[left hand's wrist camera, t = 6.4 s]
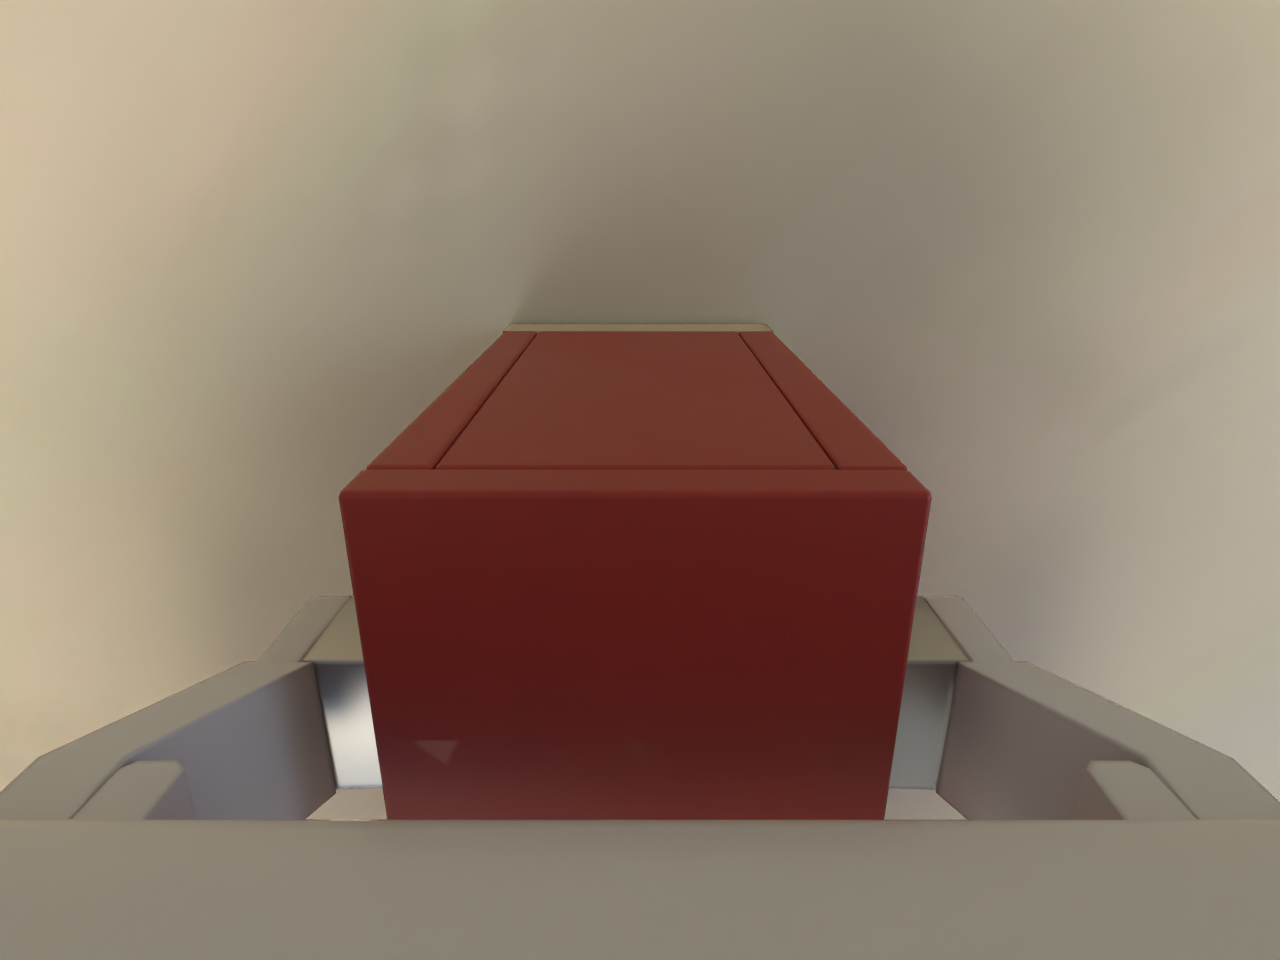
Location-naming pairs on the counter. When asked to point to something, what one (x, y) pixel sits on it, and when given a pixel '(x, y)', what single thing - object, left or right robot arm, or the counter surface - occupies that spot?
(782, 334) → the counter surface
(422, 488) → the cabinet
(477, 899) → the left robot arm
